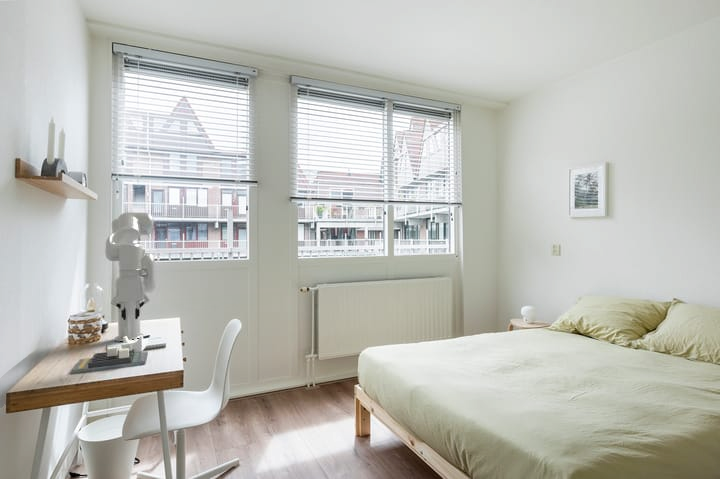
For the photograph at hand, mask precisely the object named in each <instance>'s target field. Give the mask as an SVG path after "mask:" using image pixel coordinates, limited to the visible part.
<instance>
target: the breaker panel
mask: <svg viewBox="0 0 720 479" xmlns="http://www.w3.org/2000/svg"><path fill="white" fill-rule="evenodd" d="M148 356H149V351H142V352H134V349H132V350H131V351H129V357H128V358H120V359H119V350H118V354H117V356H111V357H107V351H106V352H98V353H97V352H95V353H94V354H93V356H91V358H90V357H87V358H82V359H81V358H80V359H79V360H78V362H77V363H76V364H75V365H74V366H73V367H72V370H71V374H81V373H87V372H97V371H104V370H111V369H112V370H113V369H118V368H119V369H121V368H127V367H135V366H143V365H146V363H147V358H148Z"/></svg>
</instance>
